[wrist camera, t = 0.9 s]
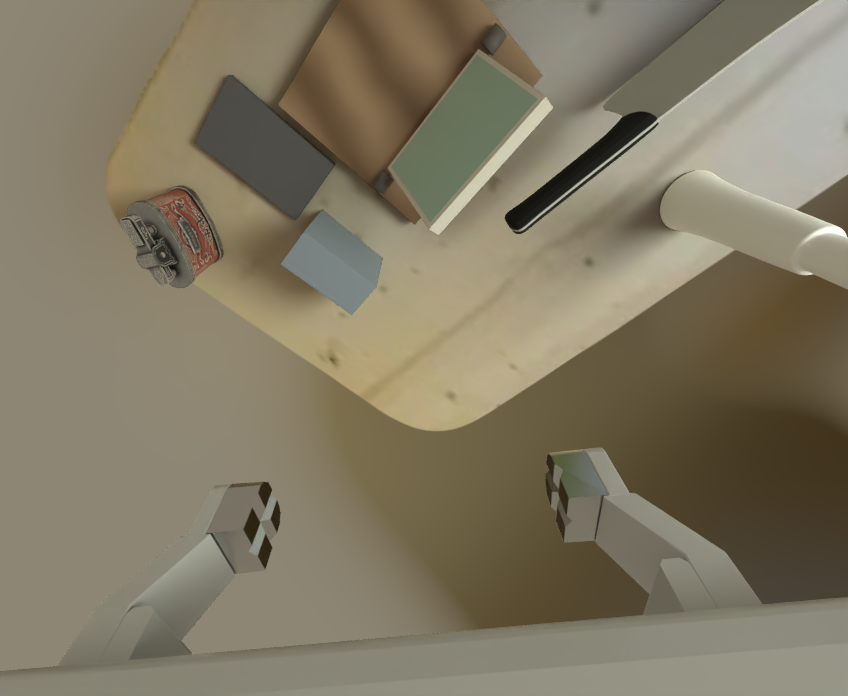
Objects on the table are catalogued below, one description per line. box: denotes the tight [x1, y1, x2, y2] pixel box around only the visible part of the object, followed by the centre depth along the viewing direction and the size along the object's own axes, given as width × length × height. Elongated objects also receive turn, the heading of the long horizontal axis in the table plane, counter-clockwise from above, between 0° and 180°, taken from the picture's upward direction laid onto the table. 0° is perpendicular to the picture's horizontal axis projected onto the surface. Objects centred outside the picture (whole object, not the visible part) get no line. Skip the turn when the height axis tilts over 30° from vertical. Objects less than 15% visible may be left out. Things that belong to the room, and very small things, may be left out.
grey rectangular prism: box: [281, 210, 383, 315], centre depth 41 cm, size 4×8×8 cm, turn 49°
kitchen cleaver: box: [505, 0, 824, 234], centre depth 33 cm, size 31×2×10 cm, turn 130°
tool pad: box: [194, 75, 335, 220], centre depth 39 cm, size 7×11×1 cm, turn 49°
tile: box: [388, 49, 553, 235], centre depth 33 cm, size 12×10×1 cm
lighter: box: [120, 186, 224, 288], centre depth 39 cm, size 8×3×10 cm, turn 12°
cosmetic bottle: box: [660, 170, 848, 289], centre depth 33 cm, size 6×6×22 cm
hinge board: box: [278, 0, 543, 224], centre depth 35 cm, size 17×16×3 cm
